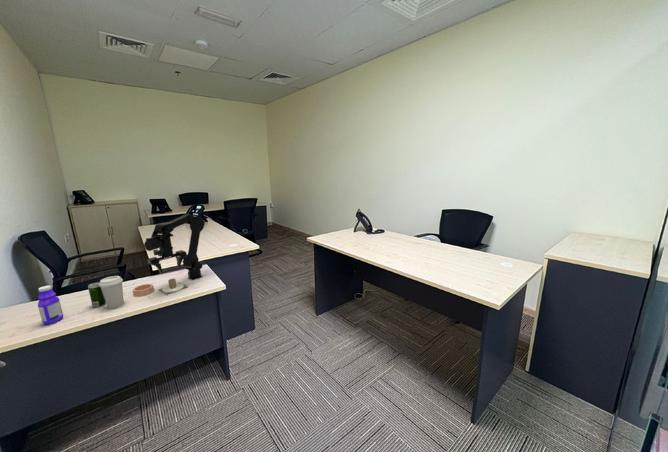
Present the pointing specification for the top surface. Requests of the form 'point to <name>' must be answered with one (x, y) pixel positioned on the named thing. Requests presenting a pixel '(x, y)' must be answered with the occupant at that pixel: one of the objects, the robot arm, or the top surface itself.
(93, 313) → the top surface
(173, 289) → the lid
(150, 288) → the bowl
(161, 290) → the mat
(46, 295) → the bottle
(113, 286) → the coffee cup
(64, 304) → the top surface
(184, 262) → the robot arm
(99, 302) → the beer can
